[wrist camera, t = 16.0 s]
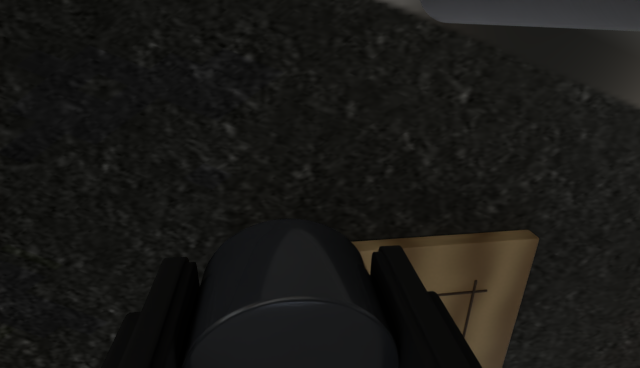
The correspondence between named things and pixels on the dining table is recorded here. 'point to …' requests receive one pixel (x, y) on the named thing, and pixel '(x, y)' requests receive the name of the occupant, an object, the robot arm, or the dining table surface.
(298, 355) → the hockey puck
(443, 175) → the dining table surface
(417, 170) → the dining table surface
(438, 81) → the dining table surface
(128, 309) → the dining table surface
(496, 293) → the board
